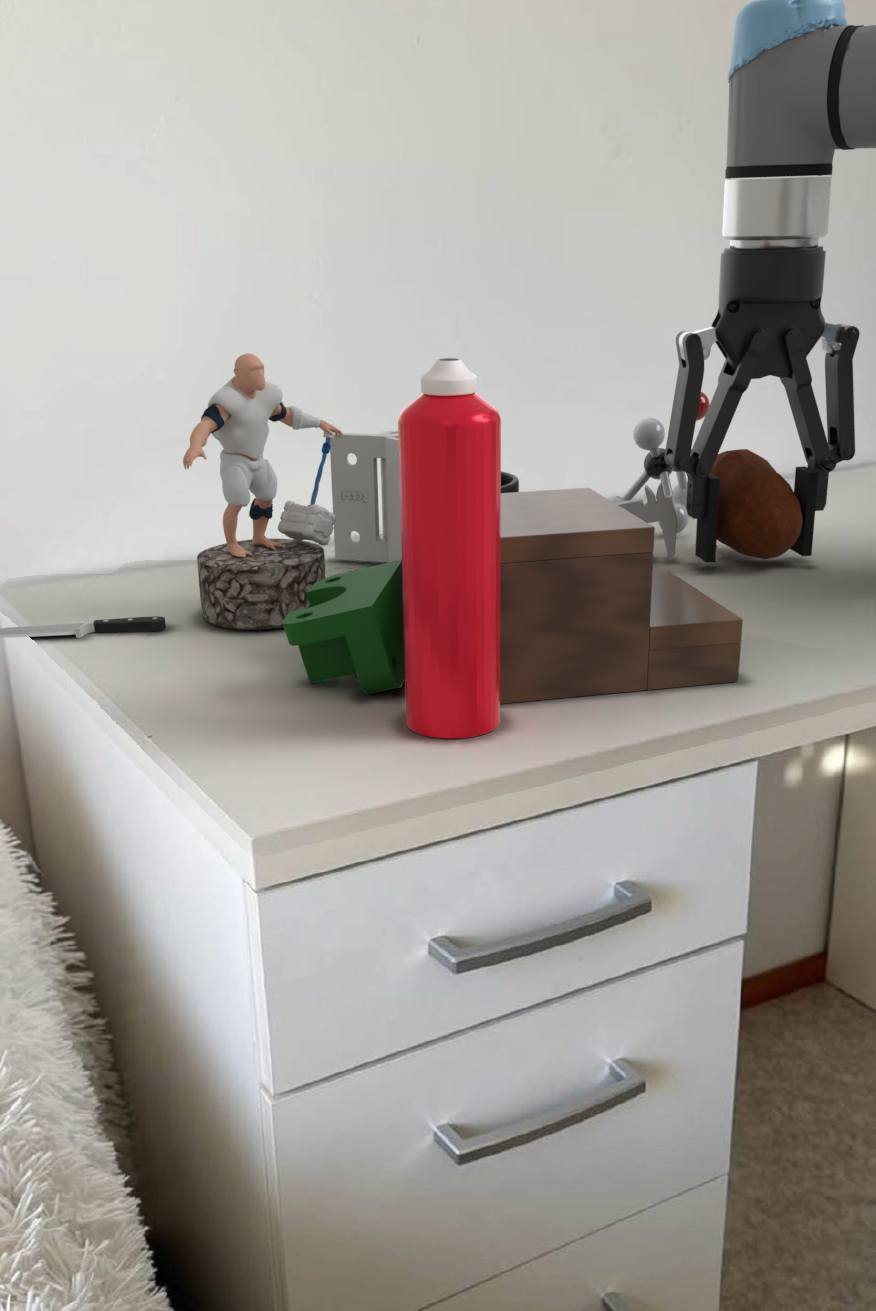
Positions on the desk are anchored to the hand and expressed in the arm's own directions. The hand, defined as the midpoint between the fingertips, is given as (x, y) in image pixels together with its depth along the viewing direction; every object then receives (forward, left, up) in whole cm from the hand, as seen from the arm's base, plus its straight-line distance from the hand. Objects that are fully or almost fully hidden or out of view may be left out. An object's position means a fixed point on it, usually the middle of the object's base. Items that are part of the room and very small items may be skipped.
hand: (753, 554), depth 113 cm
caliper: (+15, -8, -1) cm, 17 cm away
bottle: (+32, +28, -1) cm, 43 cm away
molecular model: (+1, -17, -1) cm, 17 cm away
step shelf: (+21, +20, -1) cm, 29 cm away
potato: (-1, -3, 0) cm, 3 cm away
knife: (+54, +5, -1) cm, 54 cm away
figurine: (+39, +3, -1) cm, 40 cm away
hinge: (+27, -7, -1) cm, 28 cm away
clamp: (+35, +18, -1) cm, 40 cm away
